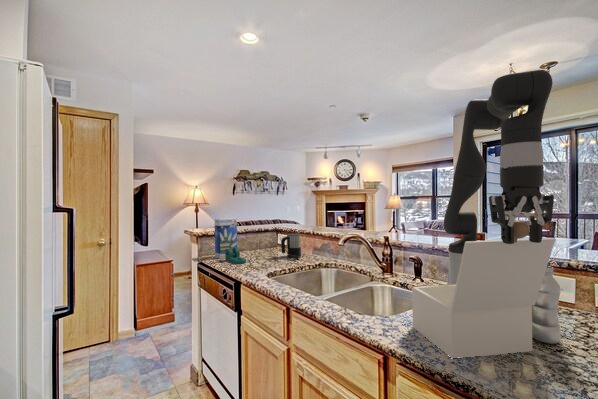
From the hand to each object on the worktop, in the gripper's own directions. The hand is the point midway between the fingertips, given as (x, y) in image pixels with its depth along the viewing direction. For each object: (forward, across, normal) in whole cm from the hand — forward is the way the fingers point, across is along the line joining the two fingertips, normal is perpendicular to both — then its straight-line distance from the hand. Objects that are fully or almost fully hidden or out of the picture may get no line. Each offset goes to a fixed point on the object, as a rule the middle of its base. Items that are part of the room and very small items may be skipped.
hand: (521, 242), depth 64 cm
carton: (+29, 0, -17) cm, 34 cm away
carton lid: (+6, 0, -6) cm, 8 cm away
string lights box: (+29, +78, -148) cm, 170 cm away
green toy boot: (+29, +70, -131) cm, 152 cm away
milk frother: (+29, +33, -136) cm, 143 cm away
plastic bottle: (+29, -19, -12) cm, 37 cm away
